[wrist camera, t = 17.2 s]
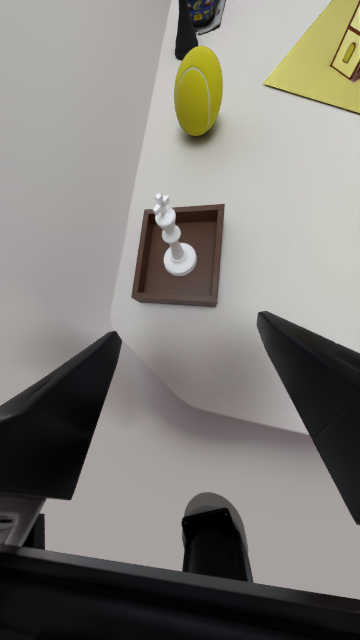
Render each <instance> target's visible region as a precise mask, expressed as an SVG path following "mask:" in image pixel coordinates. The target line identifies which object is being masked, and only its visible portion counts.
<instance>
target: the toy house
mask: <svg viewBox="0 0 360 640" xmlns="http://www.w3.org/2000/svg"><path fill="white" fill-rule="evenodd" d="M330 66H331V67H333V68H335V69H336V70H337V71H338V72H340V73H342V74H343V75H344V76H345V77H347V78H349V79H350V80H351V79H352V78H353V79H354V81H355V82H356V81H358V80H359V79H360V0H358V2H357V4H356V7H355V9H354V11H353V13H352V15H351V18H350V20H349V22H348V24H347V26H346V29H345V31H344V33H343V36H342V38H341V40H340V42H339V45H338V47H337V49H336V51H335V53H334V56H333V58H332V60H331V62H330Z"/></svg>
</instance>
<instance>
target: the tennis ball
mask: <svg viewBox="0 0 360 640" xmlns="http://www.w3.org/2000/svg"><path fill="white" fill-rule="evenodd" d="M222 91H223V80H222V71H221V67H220V63H219V61H218V58H217V57H216V55H215V54H214V52H213V51H212V50H210V49H209V48H207V47H205V46H197V47H195V48H193V49H192V50H191V51H190V52H189V53H188V54H187V55H186V56H185V57H184V59H183V61H182V62H181V64H180V67H179V69H178V72H177V76H176V81H175V89H174V102H175V110H176V115H177V118H178V121H179V123H180V125H181V127H182V128H183V130H184V131H185V132H186V133H188V134H190V135H193V136H199V135H202V134H205V133H206V131H208V130H209V129H210V128H211V127H212V125H213V124H214V122H215V120H216V118H217V115H218V112H219V109H220V105H221V100H222Z"/></svg>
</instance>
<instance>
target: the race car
mask: <svg viewBox="0 0 360 640" xmlns="http://www.w3.org/2000/svg"><path fill="white" fill-rule="evenodd" d="M225 1H226V0H187V3H188V9H189V13H190V17H191V20H192V24H193V27H194V30H195V31H198V30H200V31H199V32H198V34H201V33H205V32H207V31H210V30H211V29H214V28H216V27H218V26H219V27H220V22H221V18H222V14H223V9H224V5H225Z"/></svg>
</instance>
